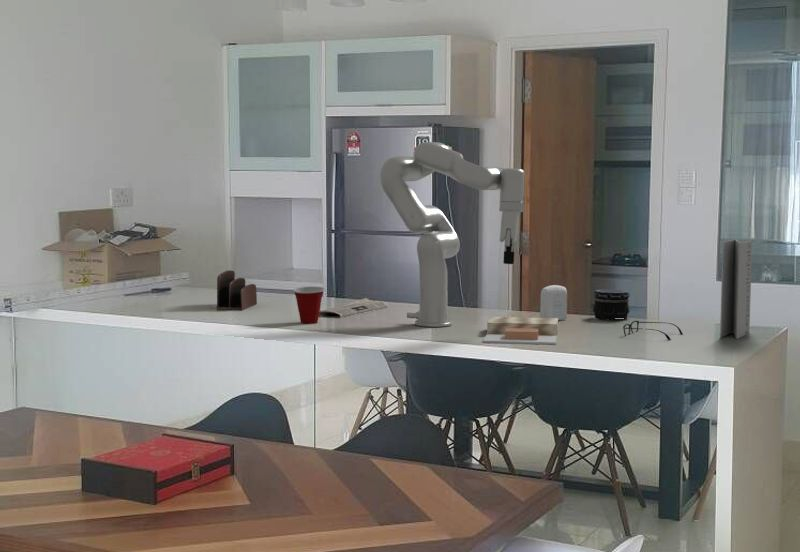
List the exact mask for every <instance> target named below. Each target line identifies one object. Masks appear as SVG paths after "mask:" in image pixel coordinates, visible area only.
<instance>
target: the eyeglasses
mask: <svg viewBox="0 0 800 552" xmlns="http://www.w3.org/2000/svg"><path fill="white" fill-rule="evenodd" d="M634 323H636V327H632V325H633V324H634ZM639 324H665V322H663V321H659V322H657V321H656V322H655V321H639V320H634V321H632V322H631V323H630V324H629V323H625V324H624V325H623V326H622V329H623V333H624V336H625V337H627V335H626V330H627V329H628V336H629V335H630V333H632V334H634V330H636V331H635V332H639V330H642V328H641V327H639ZM667 324H669V325H672V326H673V327H676V328H677V329H678V332H679V335H682V336H683V335H684V334H683V332H682V330H681V328H680V327H679V326H677V325H676V324H674V323H670V322H667ZM626 326H628V327H626ZM646 330H651V331H657V332H659V333H662V334H663V335H664V336H665V338H666V339H667V340H668V341H672V339H671V337H670V336H669V335H668V334H667V333H666V332H663V331H661V330H659V329H653V328H646Z"/></svg>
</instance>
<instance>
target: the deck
mask: <svg viewBox="0 0 800 552" xmlns="http://www.w3.org/2000/svg"><path fill="white" fill-rule="evenodd" d="M486 328H487V329H486V330H487V333H486V335H487V334H505V331H506V328H529V329H539V335H553V336H557V337H558V333H559V320H558V318H540V317H522V316H521V317H516V316H513V317H512V316H490V318H489V319H488V321H487V327H486Z"/></svg>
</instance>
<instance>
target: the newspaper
mask: <svg viewBox="0 0 800 552" xmlns="http://www.w3.org/2000/svg"><path fill="white" fill-rule="evenodd" d="M389 306H390V305H389V304H388V303H387V302H386V301H381V300H371V299H369V298H367V297H365V298H362V299H359V300H357V301H354V302H350V303H348V304H345V305H342V306H338V307H332V308H327V309H322V310H321V309H320V313H319V317H327V316H331V315H336V314H337V315H336V316H335V318H339V319H342V318H343V319H344V318H347V316H348V317H352V316H351V315H353V316H356V315H355V314H357V315H360V314H359V313H362V314H365V313H364V312H367V313H370V312H369V311H371V312H374V311H373V310H376V311H379V310H378V309H380V310H383V309H382V308H385V309H388V308H387V307H389Z"/></svg>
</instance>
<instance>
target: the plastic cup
mask: <svg viewBox="0 0 800 552" xmlns="http://www.w3.org/2000/svg"><path fill="white" fill-rule="evenodd" d="M324 291H325V288H324V287H323V286H322V287H321V286H300V287H296V288H294V289H292V292H293V293H294V295H295V300H296V306H297V310H298V315H299V319H300V323H301V324H309V325H313V324H317V323H318V321H319V317H320V316H319V313H320V311H321V305H322V304H321V303H322V298H323V295H324Z"/></svg>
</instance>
